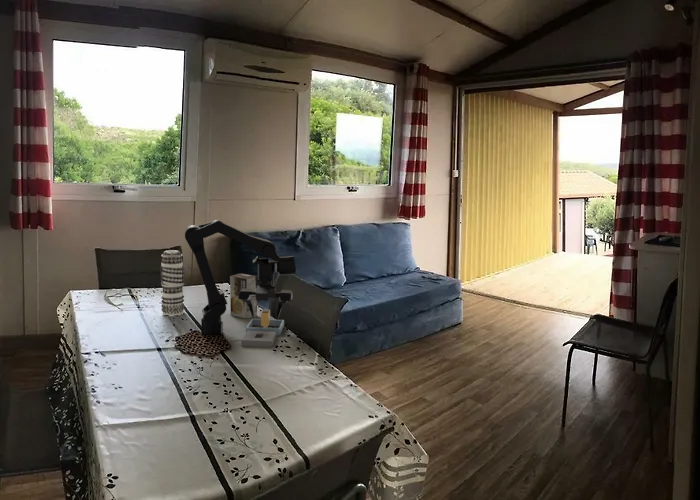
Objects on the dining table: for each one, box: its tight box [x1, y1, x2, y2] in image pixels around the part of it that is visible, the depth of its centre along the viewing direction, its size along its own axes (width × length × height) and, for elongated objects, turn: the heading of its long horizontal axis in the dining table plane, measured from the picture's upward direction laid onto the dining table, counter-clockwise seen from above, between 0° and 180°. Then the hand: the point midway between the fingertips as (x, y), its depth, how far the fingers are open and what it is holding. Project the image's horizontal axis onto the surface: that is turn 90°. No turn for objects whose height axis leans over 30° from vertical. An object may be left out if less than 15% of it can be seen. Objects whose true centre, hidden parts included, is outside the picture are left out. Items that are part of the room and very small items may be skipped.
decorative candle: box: [159, 249, 185, 317], centre depth 212 cm, size 9×9×25 cm
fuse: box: [260, 308, 271, 328], centre depth 195 cm, size 3×4×7 cm, turn 0°
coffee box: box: [229, 273, 258, 320], centre depth 214 cm, size 9×6×16 cm
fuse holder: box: [240, 331, 277, 348], centre depth 182 cm, size 10×10×3 cm
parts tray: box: [245, 318, 285, 336], centre depth 195 cm, size 12×11×3 cm
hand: (265, 317), depth 194 cm, fingers open, 8 cm apart
